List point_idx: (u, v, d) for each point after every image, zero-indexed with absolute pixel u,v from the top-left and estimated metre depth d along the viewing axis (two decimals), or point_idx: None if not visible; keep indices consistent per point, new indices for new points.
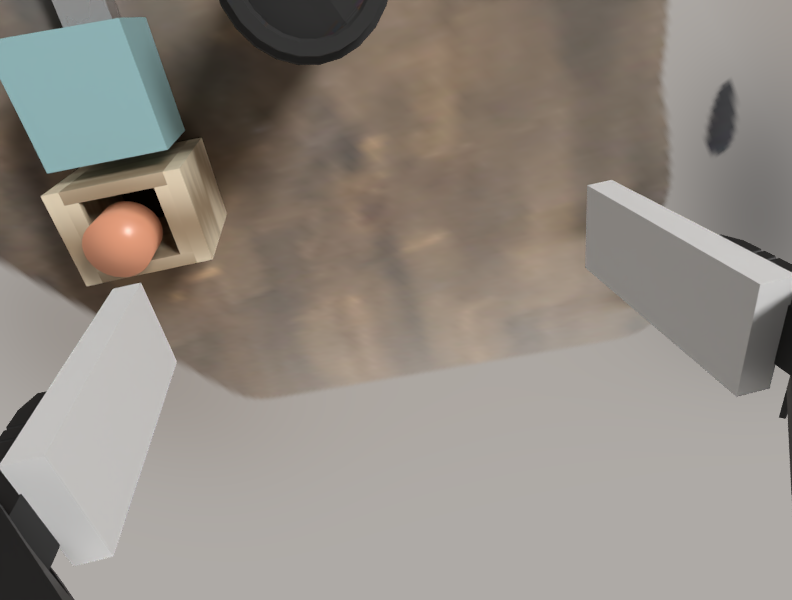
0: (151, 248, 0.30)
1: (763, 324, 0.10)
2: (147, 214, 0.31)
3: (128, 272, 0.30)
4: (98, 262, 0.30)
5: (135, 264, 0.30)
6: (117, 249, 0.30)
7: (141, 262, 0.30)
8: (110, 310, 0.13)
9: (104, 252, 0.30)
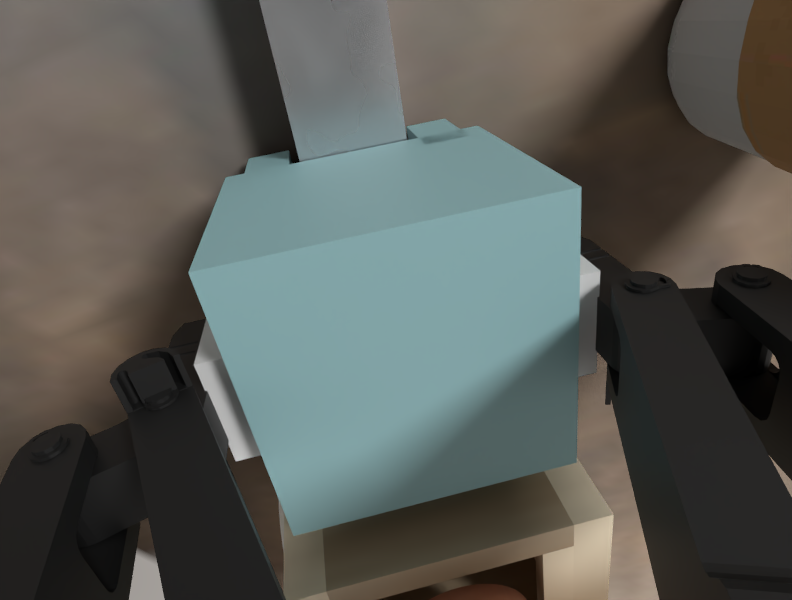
0: None
1: None
2: None
3: None
4: None
5: None
6: None
7: None
8: None
9: None
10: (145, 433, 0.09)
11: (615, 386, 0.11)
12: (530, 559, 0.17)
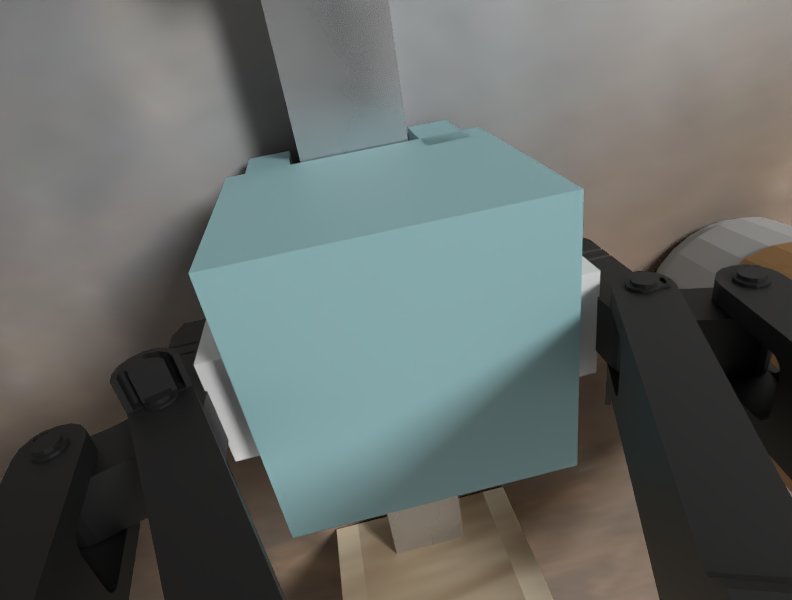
0: None
1: None
2: None
3: None
4: None
5: None
6: None
7: None
8: None
9: None
10: (145, 433, 0.09)
11: (615, 386, 0.11)
12: None
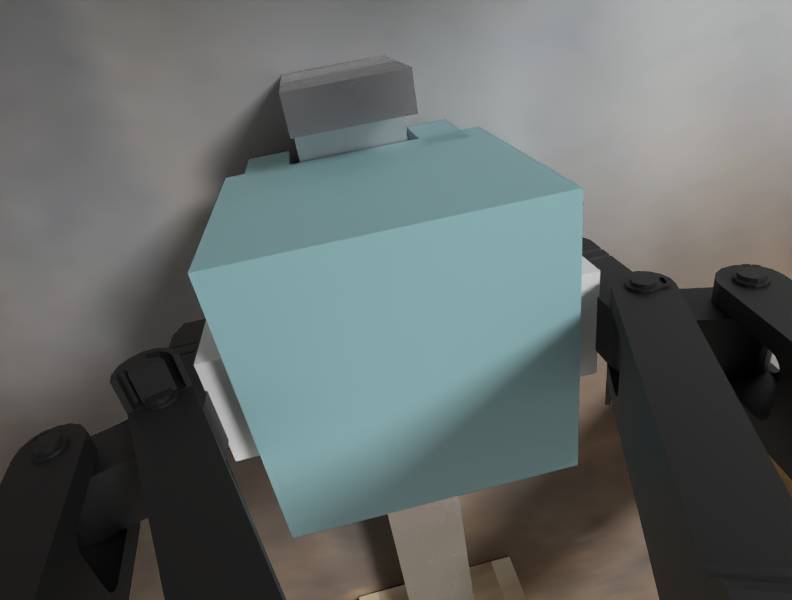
0: None
1: None
2: None
3: None
4: None
5: None
6: None
7: None
8: None
9: None
10: (145, 433, 0.09)
11: (615, 386, 0.11)
12: None
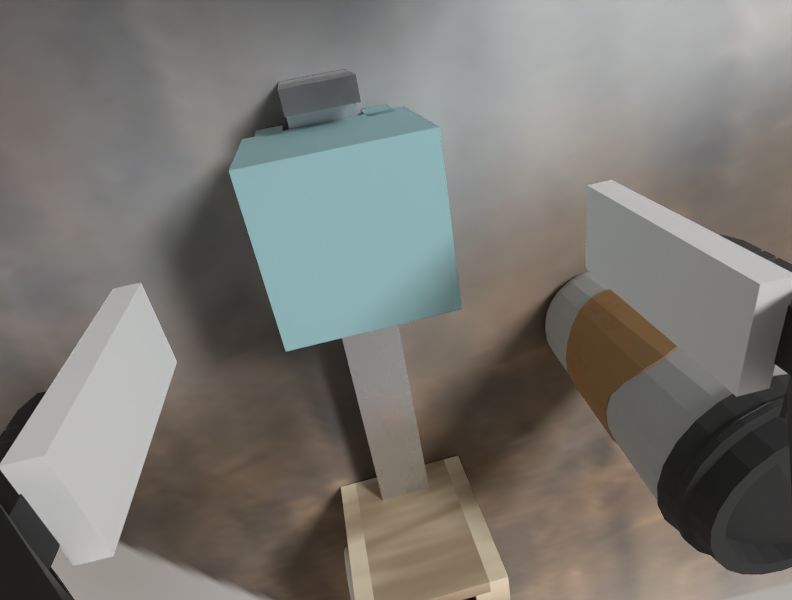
0: None
1: (763, 324, 0.10)
2: None
3: None
4: None
5: None
6: None
7: None
8: (110, 310, 0.13)
9: None
10: None
11: None
12: None
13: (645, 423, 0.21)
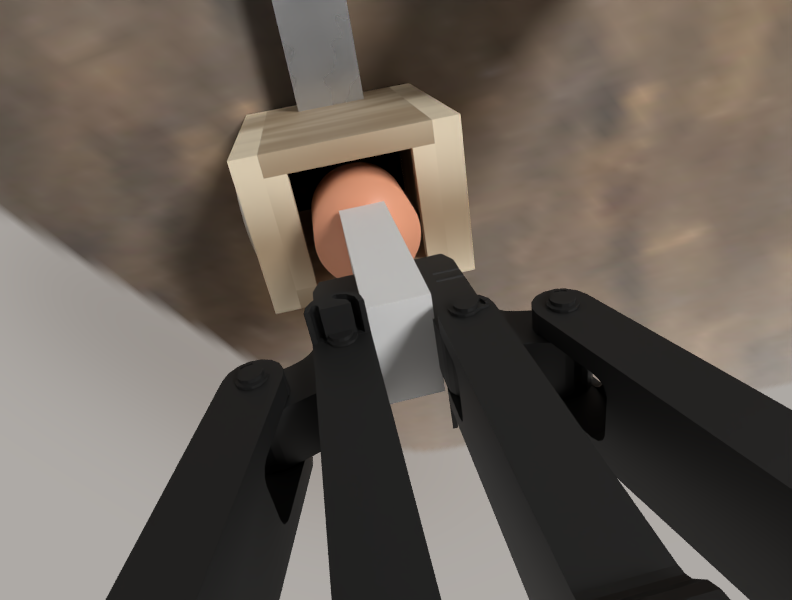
0: (419, 238, 0.18)
1: (415, 335, 0.12)
2: (396, 182, 0.19)
3: None
4: (334, 261, 0.18)
5: None
6: None
7: None
8: (353, 223, 0.16)
9: None
10: (325, 365, 0.10)
11: (459, 411, 0.11)
12: None
13: None
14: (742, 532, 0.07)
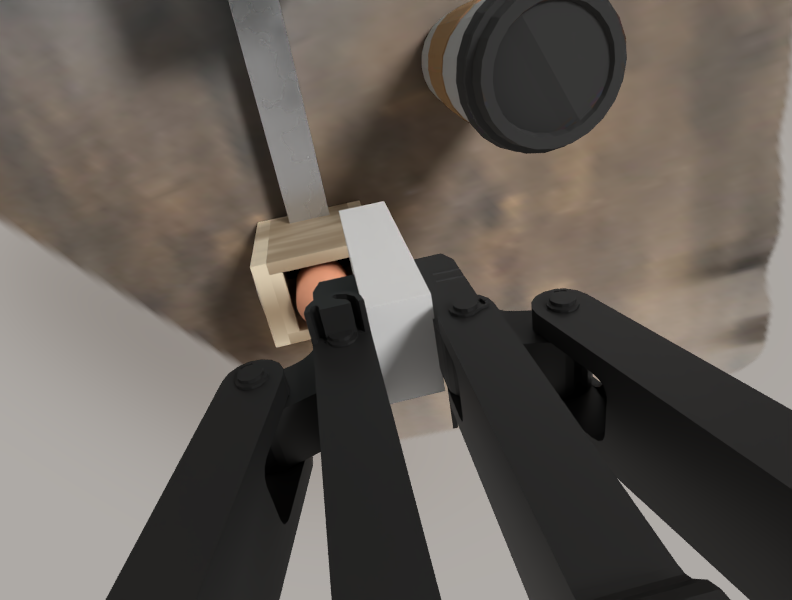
0: None
1: (415, 335, 0.12)
2: (342, 269, 0.35)
3: None
4: None
5: None
6: None
7: None
8: (353, 223, 0.16)
9: None
10: (325, 365, 0.10)
11: (459, 411, 0.11)
12: None
13: (455, 48, 0.27)
14: (742, 532, 0.07)
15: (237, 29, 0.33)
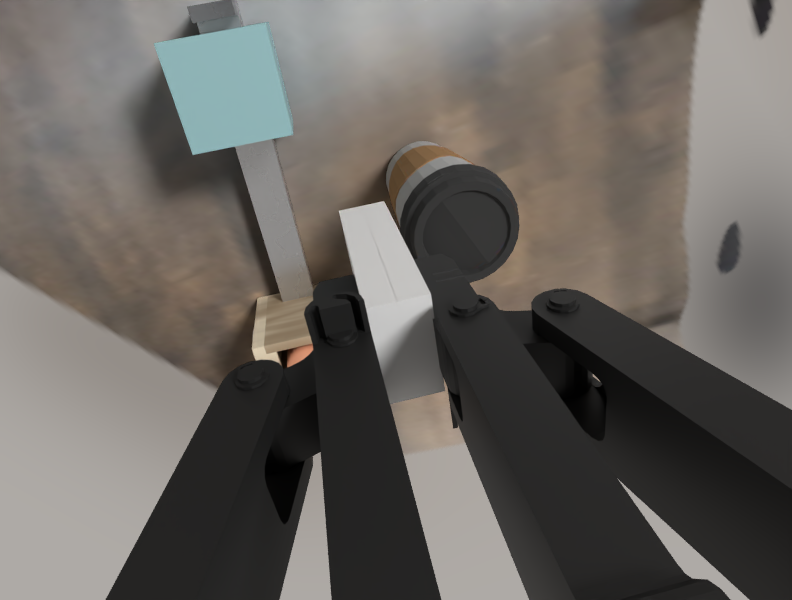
0: None
1: (415, 335, 0.12)
2: None
3: None
4: None
5: None
6: None
7: None
8: (353, 223, 0.16)
9: None
10: (325, 365, 0.10)
11: (459, 411, 0.11)
12: None
13: (401, 205, 0.38)
14: (742, 532, 0.07)
15: (242, 166, 0.43)
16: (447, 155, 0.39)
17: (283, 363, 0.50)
